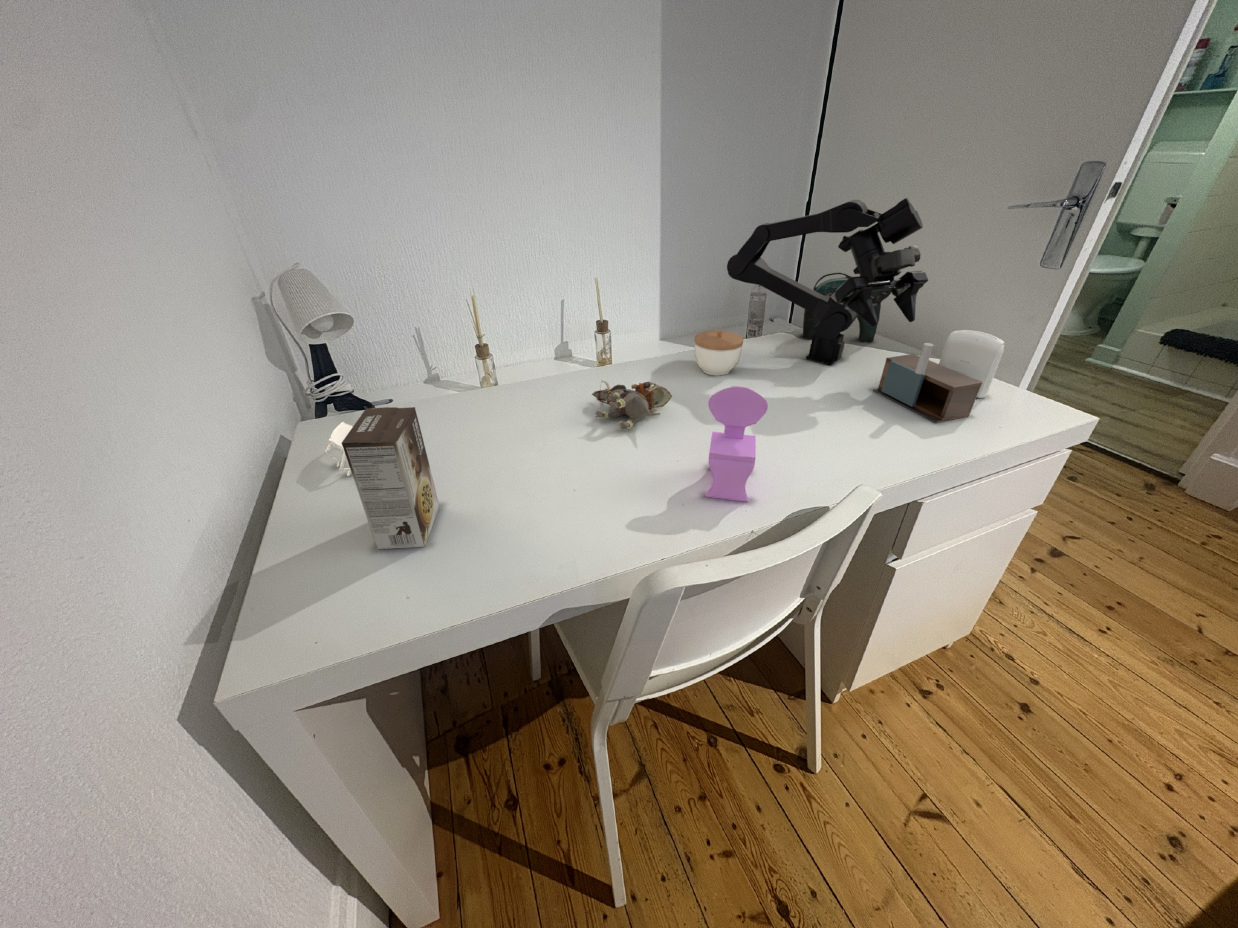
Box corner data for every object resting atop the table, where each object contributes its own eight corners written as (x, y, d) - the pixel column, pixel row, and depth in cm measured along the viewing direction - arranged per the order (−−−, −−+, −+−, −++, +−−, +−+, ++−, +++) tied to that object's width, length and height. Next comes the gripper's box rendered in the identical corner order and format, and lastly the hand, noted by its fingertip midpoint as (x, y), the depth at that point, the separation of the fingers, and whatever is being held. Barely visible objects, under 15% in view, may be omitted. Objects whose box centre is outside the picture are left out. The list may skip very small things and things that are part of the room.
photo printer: (928, 385, 110) (947, 328, 103) (936, 380, 112) (956, 324, 105) (980, 400, 103) (1004, 341, 96) (989, 395, 105) (1013, 336, 99)
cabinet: (872, 390, 108) (881, 358, 104) (903, 385, 110) (913, 353, 106) (935, 423, 95) (948, 388, 91) (969, 416, 97) (982, 382, 93)
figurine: (567, 384, 98) (626, 362, 109) (570, 413, 101) (627, 388, 112) (647, 408, 86) (705, 381, 96) (647, 441, 89) (703, 410, 99)
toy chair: (697, 497, 75) (706, 405, 67) (702, 466, 83) (711, 380, 75) (755, 504, 74) (771, 411, 66) (755, 472, 81) (769, 384, 73)
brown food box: (395, 508, 74) (365, 407, 65) (441, 505, 74) (417, 404, 65) (375, 550, 66) (338, 442, 57) (426, 547, 66) (396, 439, 58)
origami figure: (394, 462, 84) (386, 436, 82) (340, 481, 80) (330, 454, 77) (369, 436, 92) (361, 411, 89) (318, 452, 87) (309, 426, 85)
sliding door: (879, 391, 106) (896, 333, 99) (885, 390, 106) (902, 332, 100) (910, 407, 99) (929, 346, 93) (916, 406, 100) (936, 345, 93)
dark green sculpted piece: (876, 337, 137) (897, 258, 126) (881, 345, 131) (903, 263, 121) (799, 332, 141) (813, 255, 130) (800, 340, 135) (815, 260, 125)
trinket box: (684, 373, 116) (687, 333, 111) (703, 359, 124) (706, 320, 119) (729, 383, 111) (733, 341, 106) (746, 367, 119) (751, 327, 114)
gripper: (857, 233, 98) (884, 306, 94) (935, 228, 102) (963, 297, 99) (823, 269, 108) (846, 335, 105) (895, 262, 113) (919, 326, 110)
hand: (894, 323), depth 104 cm, fingers open, 9 cm apart
